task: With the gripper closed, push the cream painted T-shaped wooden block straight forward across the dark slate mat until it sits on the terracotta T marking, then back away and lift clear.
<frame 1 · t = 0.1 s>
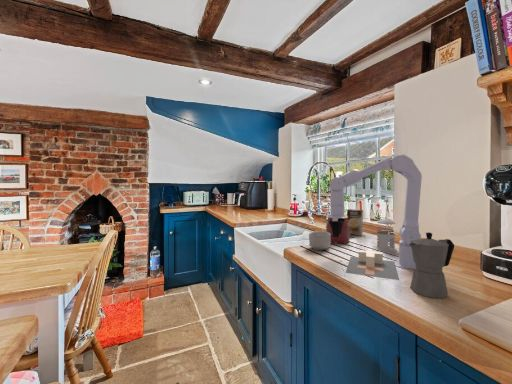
hand: (337, 235, 109), 10 cm above the worktop, tool pointing down, fingers open, 7 cm apart
coffeepot: (431, 292, 74), on the worktop
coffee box: (354, 234, 160), on the worktop
canister: (337, 241, 141), on the worktop
slate mat: (371, 267, 96), on the worktop
teacup: (319, 248, 126), on the worktop
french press: (386, 249, 123), on the worktop
t block: (370, 261, 102), resting on slate mat
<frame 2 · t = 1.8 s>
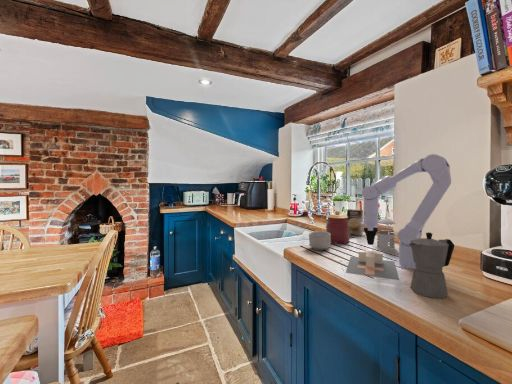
hand: (370, 244, 108), 6 cm above the worktop, tool pointing down, fingers closed
nothing on the worktop moved.
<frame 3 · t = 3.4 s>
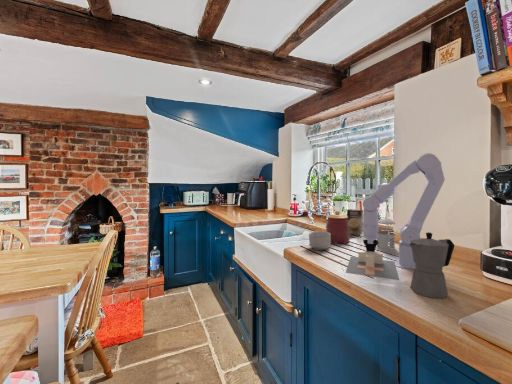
hand: (370, 257, 104), 2 cm above the worktop, tool pointing down, fingers closed
t block: (370, 261, 102), resting on slate mat, touching gripper
everything else where it was.
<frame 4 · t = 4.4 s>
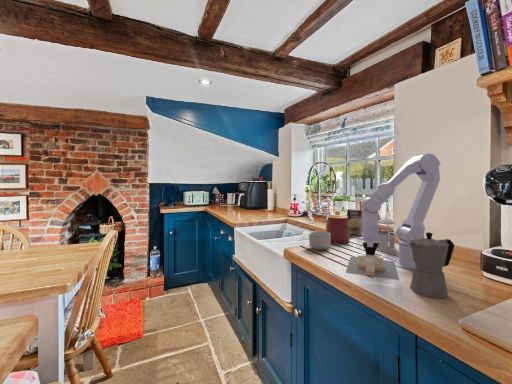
hand: (370, 260, 99), 2 cm above the worktop, tool pointing down, fingers closed
t block: (370, 265, 96), point 1 cm above the worktop, touching gripper
everything else where it was.
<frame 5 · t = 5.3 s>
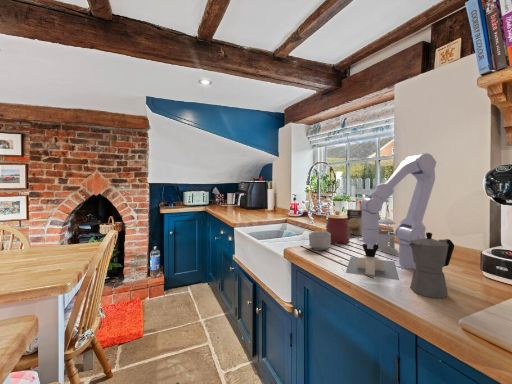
hand: (370, 263, 96), 2 cm above the worktop, tool pointing down, fingers closed
t block: (370, 268, 94), resting on slate mat, touching gripper
everything else where it was.
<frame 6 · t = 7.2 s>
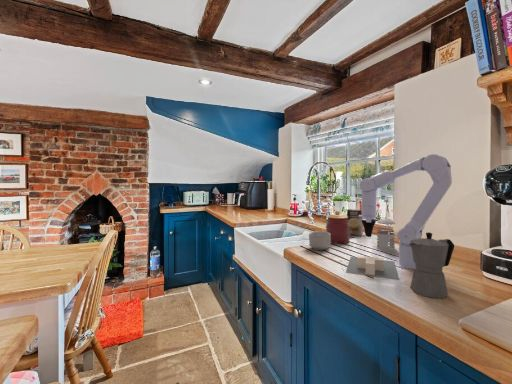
hand: (368, 236, 109), 9 cm above the worktop, tool pointing down, fingers closed
t block: (370, 268, 94), resting on slate mat
everything else where it was.
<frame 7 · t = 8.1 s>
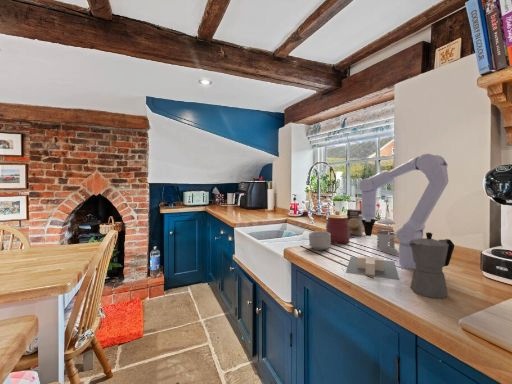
hand: (368, 235, 111), 9 cm above the worktop, tool pointing down, fingers closed
nothing on the worktop moved.
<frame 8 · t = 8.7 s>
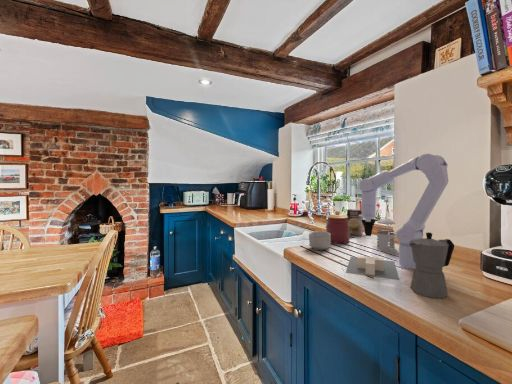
hand: (368, 235, 111), 9 cm above the worktop, tool pointing down, fingers closed
nothing on the worktop moved.
at the end: t block 0.2 cm from the target spot, point 0.5 cm above the worktop; t block tilted 0° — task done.
